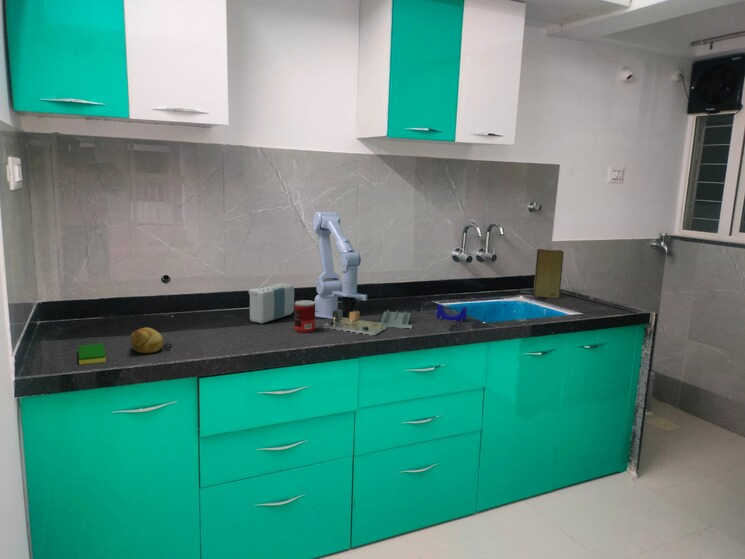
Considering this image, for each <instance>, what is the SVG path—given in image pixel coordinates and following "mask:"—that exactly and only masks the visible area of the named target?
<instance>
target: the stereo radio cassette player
mask: <svg viewBox="0 0 745 559" xmlns="http://www.w3.org/2000/svg"><path fill="white" fill-rule="evenodd" d="M280 269H281V267H279V268H278V269H277V270H276V271H275V272H273V273H272V274H271V275H270V277H268V278H267V279H266V281H264V282H263V283H262V284H261V285H260V286H259V287H257V288H251V289H248V294H249V320H250V322H252V323H258V324H261V325H263V324H265V323H268V322H271V321H274V320H277V319H281V318H283V317H287V316H290V315H292V314H293V313H294V312H295V287H294V285H293V284H288V283H281V282H277V283H274V284H269V285H265V284H266V283H267V282H269V280H270V279H271V278H272V277H273V276H275V274H276V273H277V272H278V271H279V270H280Z"/></svg>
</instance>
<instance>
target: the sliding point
mask: <svg viewBox="0 0 745 559" xmlns="http://www.w3.org/2000/svg"><path fill="white" fill-rule="evenodd" d="M360 315H361V314H360V310H356V309H355V310H354V309H353V311H351V312H350V314H349V317H348V318H349V320H351V321H350V324H353V320H354V321H355V320H360Z"/></svg>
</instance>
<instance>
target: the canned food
mask: <svg viewBox="0 0 745 559" xmlns="http://www.w3.org/2000/svg"><path fill="white" fill-rule="evenodd" d="M314 301H315V300H314ZM314 301H313V300H307V299H306V300H305V299H301V300H296V301H294V321H293V322H294V324H293V325H294V331H295V332H296V333H299V332H300V334H309V333H308V332H310V333H313V332H315V329H316V316H315V302H314Z"/></svg>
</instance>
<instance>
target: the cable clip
mask: <svg viewBox="0 0 745 559" xmlns="http://www.w3.org/2000/svg"><path fill="white" fill-rule="evenodd" d="M436 311H437V312H436V319H437V318H438V319H437V320H443V319H447V320H446V321H451V320H456V321H455V322H459V321H461V319H463V321H465V320H466V321H467V317H468V313H467V306H462V308H461V311H460V313H457V314H455V315H451V314H448V313H447V312H446V311H445V310H444V306H443V304H441V303H440V304H439V303H438V304H437V310H436ZM440 317H442V318H441V319H439V318H440ZM466 321H465V322H466Z"/></svg>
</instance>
